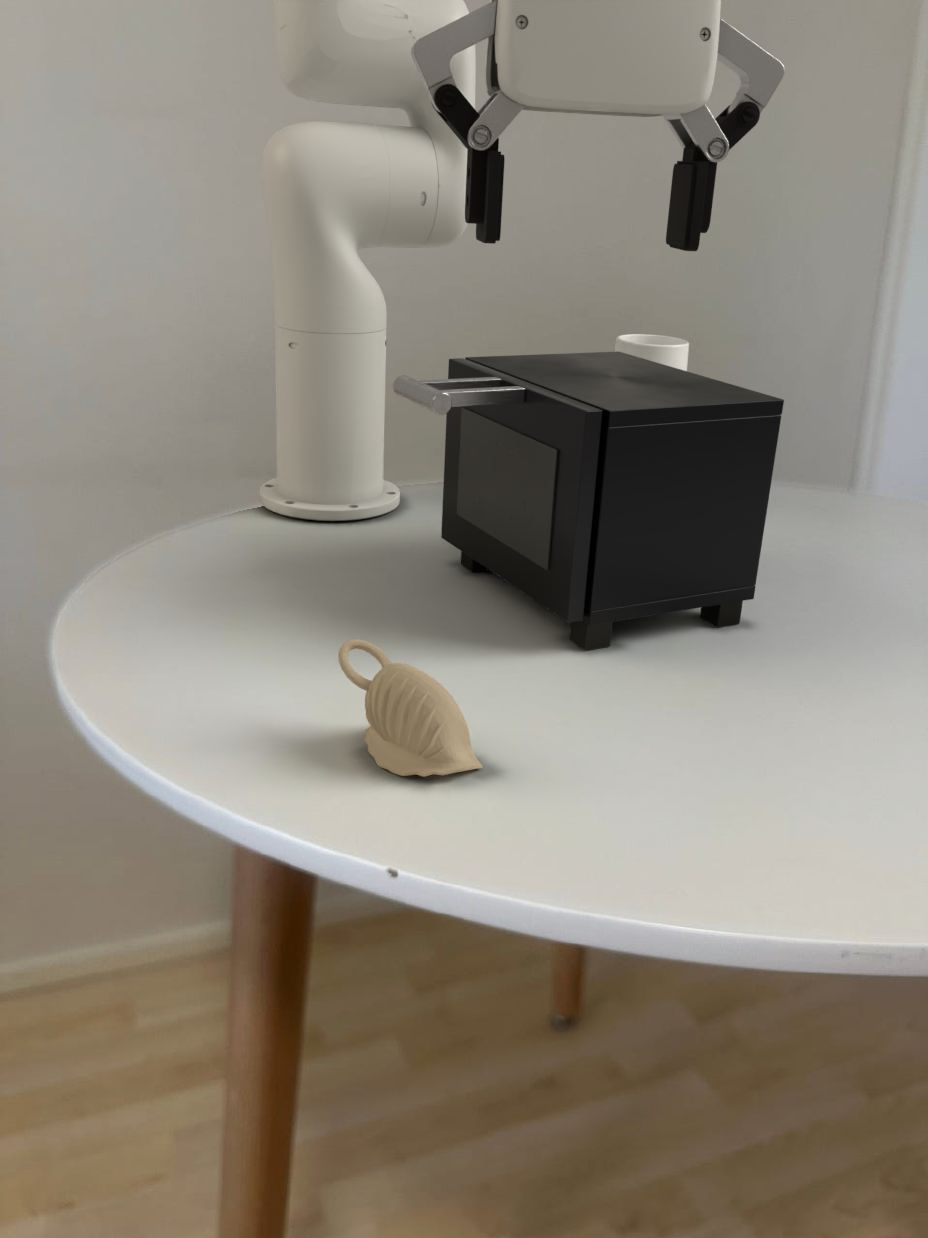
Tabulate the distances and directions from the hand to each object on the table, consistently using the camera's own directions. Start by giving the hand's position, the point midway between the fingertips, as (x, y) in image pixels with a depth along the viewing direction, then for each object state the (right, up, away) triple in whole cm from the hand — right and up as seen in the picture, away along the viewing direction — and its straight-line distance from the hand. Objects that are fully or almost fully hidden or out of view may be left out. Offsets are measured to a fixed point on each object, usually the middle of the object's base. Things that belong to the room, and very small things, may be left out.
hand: (585, 244), depth 56 cm
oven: (+4, -16, +30) cm, 34 cm away
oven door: (-6, -15, +24) cm, 30 cm away
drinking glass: (+10, -7, +54) cm, 56 cm away
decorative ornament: (-9, -25, +6) cm, 28 cm away
